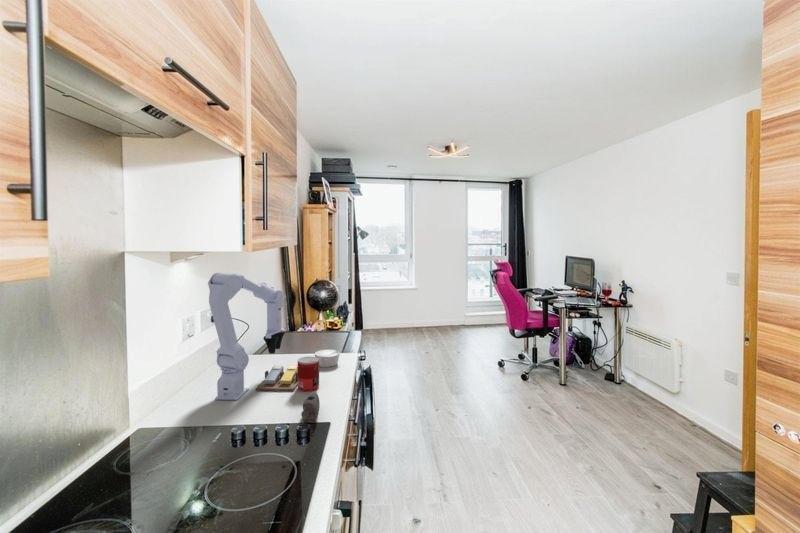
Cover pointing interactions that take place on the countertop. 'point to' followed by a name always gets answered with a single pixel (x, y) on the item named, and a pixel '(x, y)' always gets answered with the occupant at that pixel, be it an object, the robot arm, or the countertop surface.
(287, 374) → the yellow rectangular block
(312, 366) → the canned food
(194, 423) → the countertop surface
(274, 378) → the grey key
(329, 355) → the ramekin
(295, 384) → the walnut board
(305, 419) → the perforated stone tool
